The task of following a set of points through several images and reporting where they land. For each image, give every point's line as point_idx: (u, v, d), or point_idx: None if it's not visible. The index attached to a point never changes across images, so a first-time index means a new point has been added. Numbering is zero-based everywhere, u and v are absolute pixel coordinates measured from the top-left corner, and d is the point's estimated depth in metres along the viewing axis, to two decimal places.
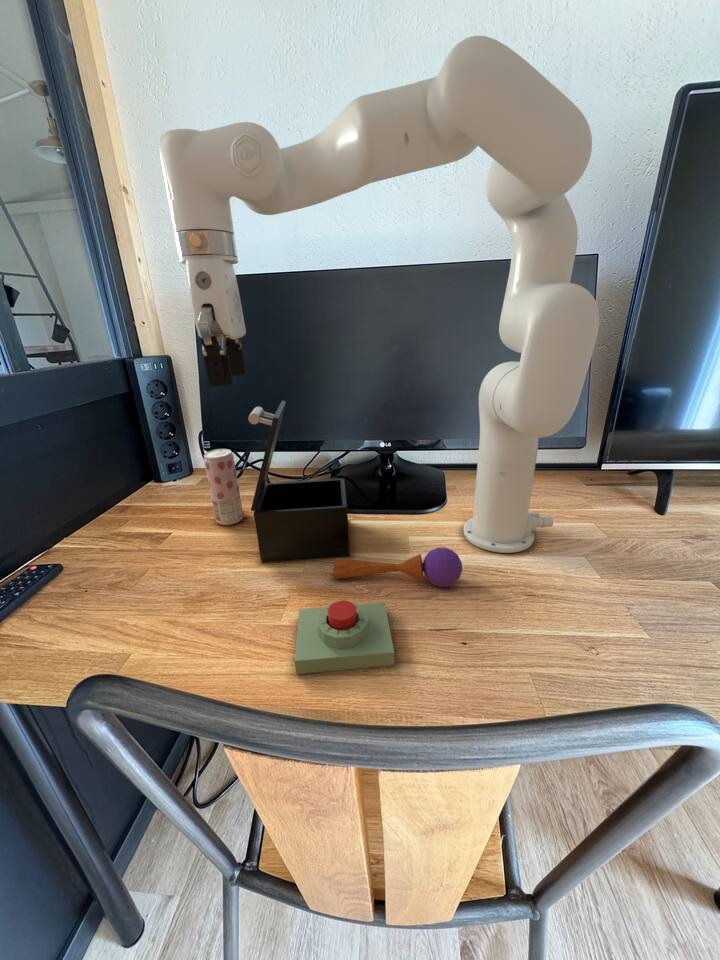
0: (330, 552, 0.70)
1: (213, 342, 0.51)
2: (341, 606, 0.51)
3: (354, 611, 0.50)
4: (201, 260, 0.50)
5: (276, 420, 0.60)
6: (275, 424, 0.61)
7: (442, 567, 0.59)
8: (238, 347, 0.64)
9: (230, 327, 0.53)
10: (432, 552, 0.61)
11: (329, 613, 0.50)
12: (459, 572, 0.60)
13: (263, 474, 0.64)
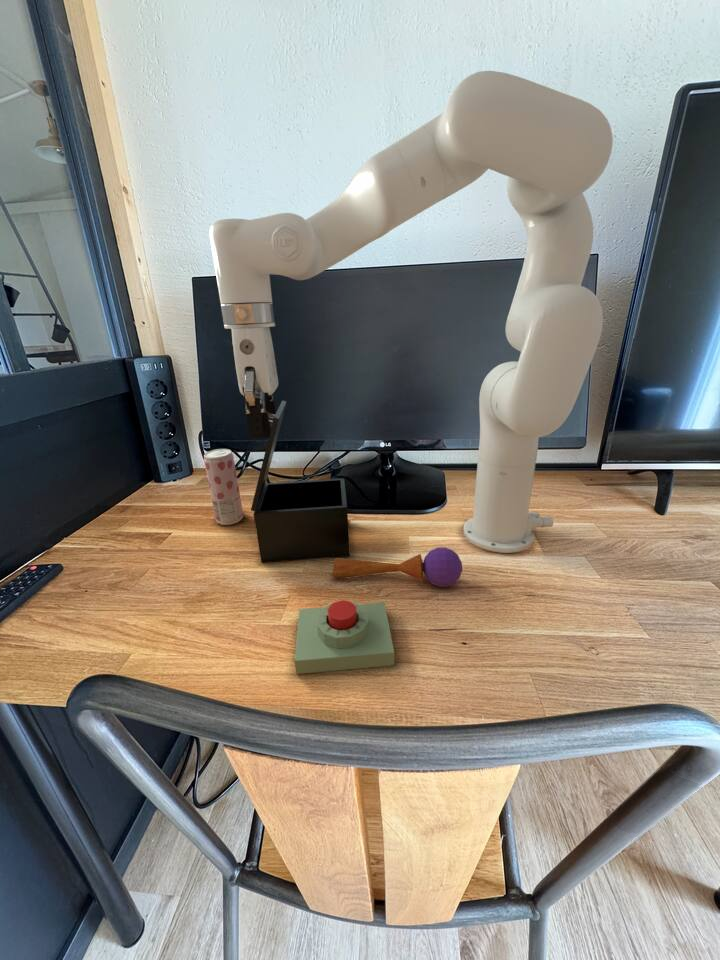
0: (330, 552, 0.70)
1: (256, 404, 0.59)
2: (341, 606, 0.51)
3: (354, 611, 0.50)
4: (245, 329, 0.57)
5: (276, 420, 0.60)
6: (275, 424, 0.61)
7: (442, 567, 0.59)
8: (270, 399, 0.70)
9: (269, 386, 0.60)
10: (432, 552, 0.61)
11: (329, 613, 0.50)
12: (459, 572, 0.60)
13: (263, 474, 0.64)
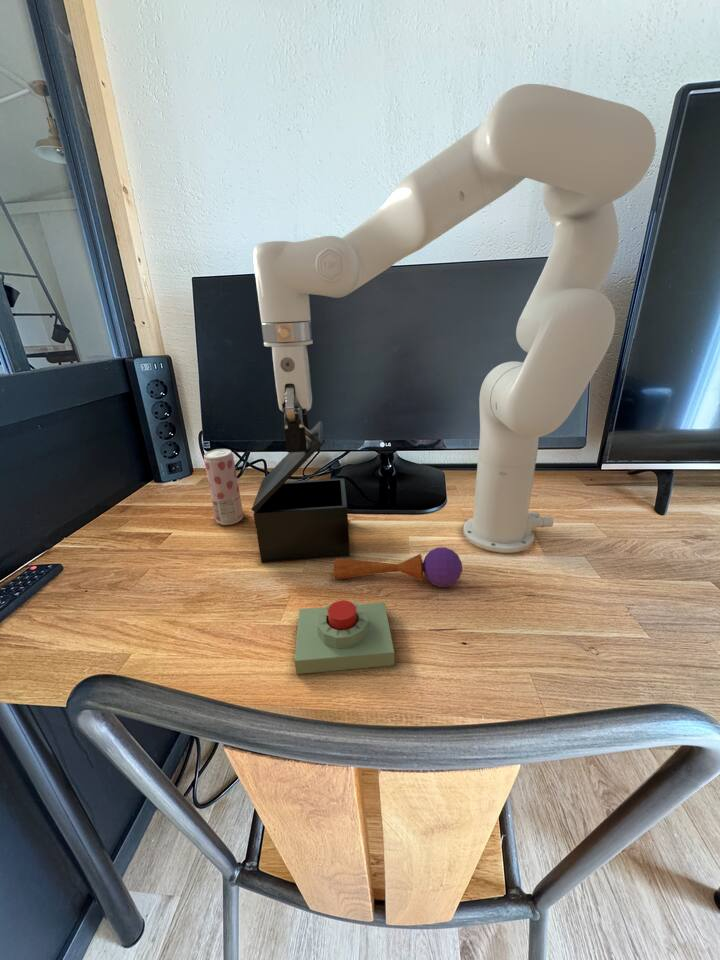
0: (330, 552, 0.70)
1: (296, 420, 0.60)
2: (341, 606, 0.51)
3: (354, 611, 0.50)
4: (286, 348, 0.58)
5: (320, 444, 0.62)
6: (317, 447, 0.62)
7: (442, 567, 0.59)
8: (303, 413, 0.71)
9: (307, 402, 0.61)
10: (432, 552, 0.61)
11: (329, 613, 0.50)
12: (459, 572, 0.60)
13: (281, 484, 0.64)
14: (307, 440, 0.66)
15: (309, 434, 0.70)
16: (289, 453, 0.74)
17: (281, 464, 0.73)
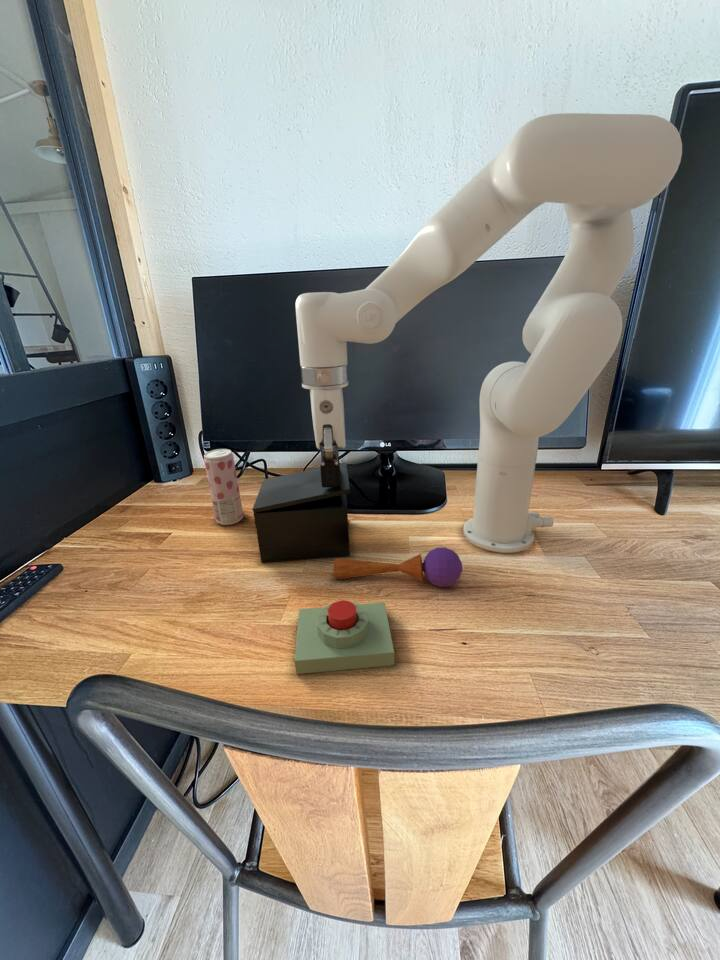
0: (330, 552, 0.70)
1: (333, 459, 0.63)
2: (341, 606, 0.51)
3: (354, 611, 0.50)
4: (325, 391, 0.61)
5: (348, 492, 0.66)
6: (344, 493, 0.66)
7: (442, 567, 0.59)
8: None
9: (344, 441, 0.64)
10: (432, 552, 0.61)
11: (329, 613, 0.50)
12: (459, 572, 0.60)
13: (294, 503, 0.66)
14: None
15: None
16: (303, 473, 0.76)
17: (292, 479, 0.74)
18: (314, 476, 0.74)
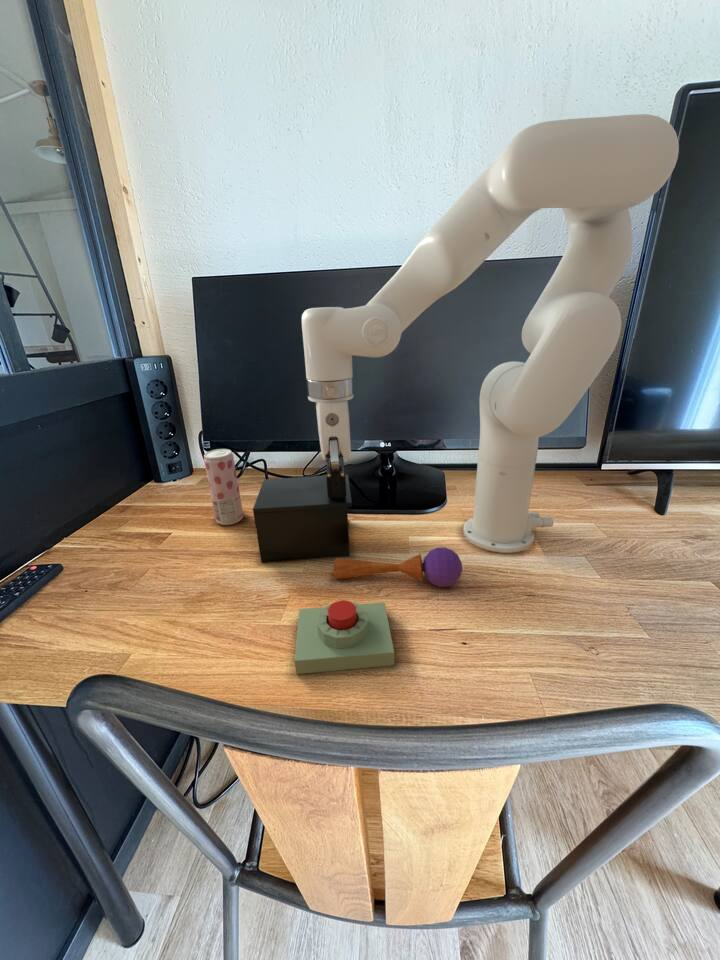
0: (330, 552, 0.70)
1: (339, 470, 0.64)
2: (341, 606, 0.51)
3: (354, 611, 0.50)
4: (331, 404, 0.62)
5: (350, 505, 0.67)
6: (346, 506, 0.67)
7: (442, 567, 0.59)
8: (340, 457, 0.75)
9: (349, 453, 0.65)
10: (432, 552, 0.61)
11: (329, 613, 0.50)
12: (459, 572, 0.60)
13: (295, 509, 0.66)
14: None
15: None
16: (305, 479, 0.77)
17: (294, 484, 0.75)
18: (316, 483, 0.74)
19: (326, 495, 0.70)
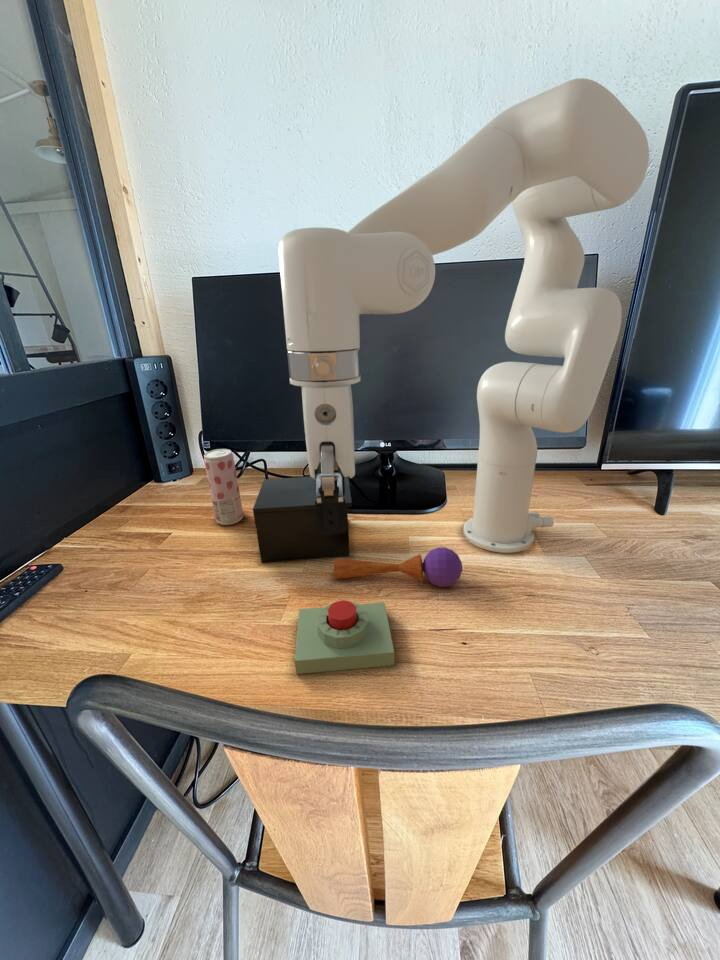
0: (330, 552, 0.70)
1: (335, 493, 0.39)
2: (341, 606, 0.51)
3: (354, 611, 0.50)
4: (325, 390, 0.38)
5: (350, 505, 0.67)
6: (346, 506, 0.67)
7: (442, 567, 0.59)
8: None
9: (352, 468, 0.41)
10: (432, 552, 0.61)
11: (329, 613, 0.50)
12: (459, 572, 0.60)
13: (295, 509, 0.66)
14: None
15: None
16: (305, 479, 0.77)
17: (294, 484, 0.75)
18: None
19: None
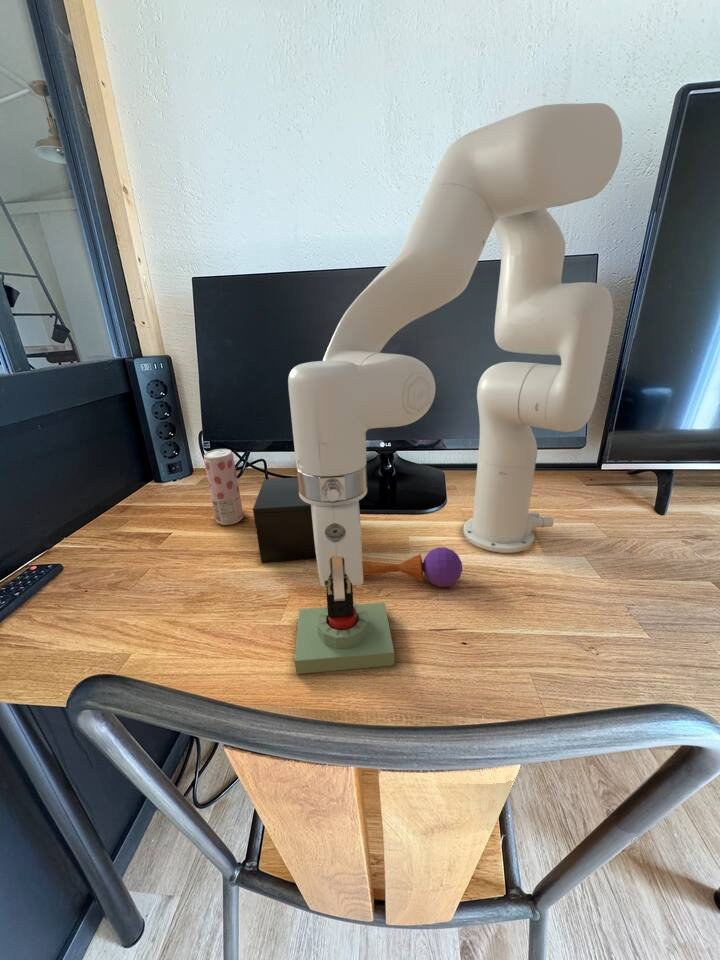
0: None
1: (344, 590, 0.45)
2: None
3: (355, 613, 0.50)
4: (335, 511, 0.40)
5: None
6: None
7: (442, 567, 0.59)
8: None
9: (361, 577, 0.43)
10: (432, 552, 0.61)
11: None
12: (459, 572, 0.60)
13: (295, 509, 0.66)
14: None
15: None
16: None
17: (294, 484, 0.75)
18: None
19: None
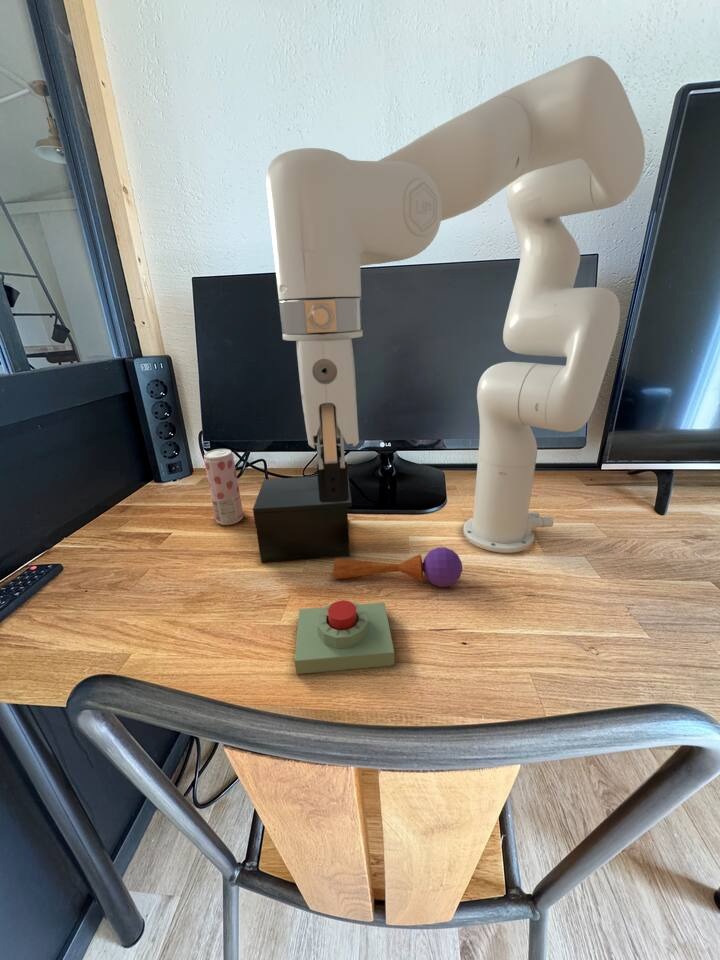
0: (330, 552, 0.70)
1: (337, 458, 0.39)
2: (341, 606, 0.51)
3: (354, 611, 0.50)
4: (324, 343, 0.34)
5: (350, 505, 0.67)
6: (346, 506, 0.67)
7: (442, 567, 0.59)
8: None
9: (356, 434, 0.37)
10: (432, 552, 0.61)
11: (329, 613, 0.50)
12: (459, 572, 0.60)
13: (295, 509, 0.66)
14: None
15: None
16: (305, 479, 0.77)
17: (294, 484, 0.75)
18: (316, 483, 0.74)
19: None
